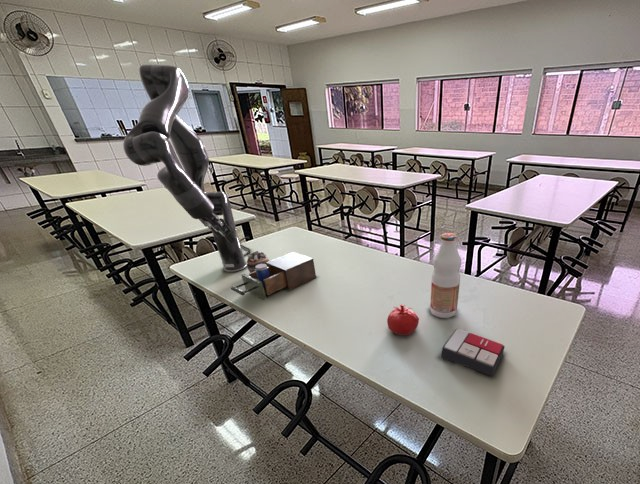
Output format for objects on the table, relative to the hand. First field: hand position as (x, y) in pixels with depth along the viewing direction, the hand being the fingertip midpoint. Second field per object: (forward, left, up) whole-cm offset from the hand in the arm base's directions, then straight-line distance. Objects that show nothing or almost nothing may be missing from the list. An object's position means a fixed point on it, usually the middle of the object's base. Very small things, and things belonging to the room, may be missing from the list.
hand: (226, 238), depth 110 cm
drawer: (+2, +6, -22) cm, 23 cm away
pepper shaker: (+1, +8, -21) cm, 23 cm away
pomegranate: (+53, +38, -23) cm, 69 cm away
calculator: (+74, +48, -23) cm, 91 cm away
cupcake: (-15, +10, -23) cm, 30 cm away
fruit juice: (+52, +56, -23) cm, 80 cm away
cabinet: (-3, +20, -23) cm, 31 cm away
